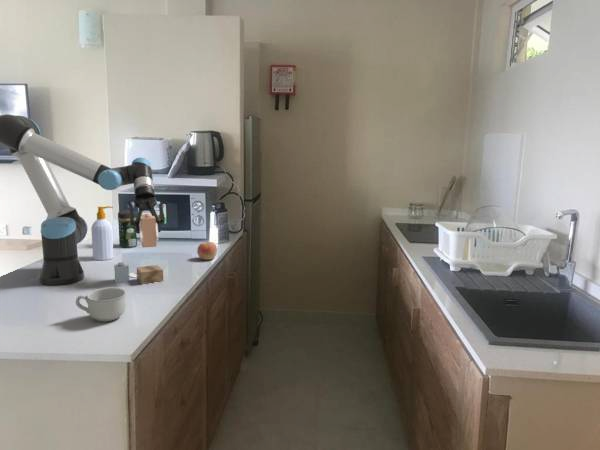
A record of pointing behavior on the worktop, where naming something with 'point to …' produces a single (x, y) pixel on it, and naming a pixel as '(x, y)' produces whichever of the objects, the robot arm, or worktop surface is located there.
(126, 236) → the coffee jar
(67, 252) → the robot arm
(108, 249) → the soap bottle
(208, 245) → the apple
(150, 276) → the base block
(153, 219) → the terracotta brick
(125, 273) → the slate brick
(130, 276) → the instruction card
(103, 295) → the teacup
